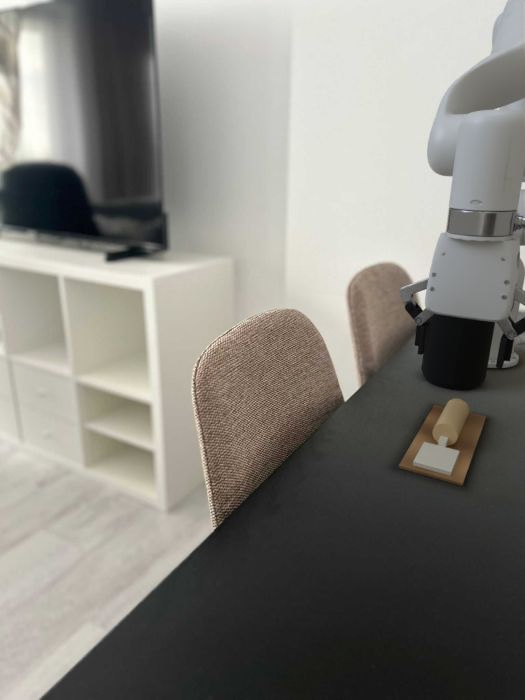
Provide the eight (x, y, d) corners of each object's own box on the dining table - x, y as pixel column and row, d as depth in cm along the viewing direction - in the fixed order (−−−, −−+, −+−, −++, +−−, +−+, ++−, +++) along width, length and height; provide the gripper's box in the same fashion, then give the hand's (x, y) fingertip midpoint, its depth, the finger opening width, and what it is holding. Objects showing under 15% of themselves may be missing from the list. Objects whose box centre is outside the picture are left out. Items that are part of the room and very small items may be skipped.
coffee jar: (482, 372, 93) (499, 274, 87) (486, 395, 84) (505, 287, 78) (421, 365, 96) (433, 270, 90) (418, 386, 87) (431, 281, 81)
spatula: (440, 415, 76) (442, 395, 75) (472, 422, 74) (475, 402, 73) (412, 465, 63) (415, 442, 62) (450, 476, 61) (454, 452, 60)
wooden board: (434, 407, 79) (434, 404, 79) (485, 418, 76) (486, 416, 76) (398, 468, 63) (398, 465, 63) (462, 486, 59) (462, 483, 59)
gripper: (563, 225, 60) (535, 361, 66) (414, 217, 68) (402, 338, 74) (562, 233, 54) (531, 382, 60) (398, 223, 62) (386, 355, 68)
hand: (460, 358), depth 67 cm, fingers open, 9 cm apart
